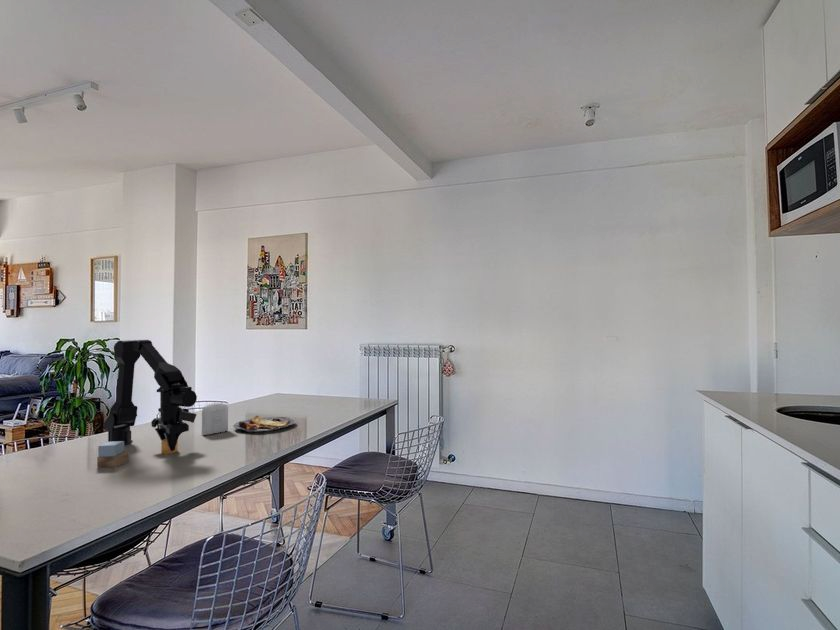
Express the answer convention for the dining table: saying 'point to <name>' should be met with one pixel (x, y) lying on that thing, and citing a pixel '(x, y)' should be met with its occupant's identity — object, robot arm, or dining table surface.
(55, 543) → the dining table surface
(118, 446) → the slate top block
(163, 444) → the orange cylinder
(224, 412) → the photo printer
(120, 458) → the walnut base block
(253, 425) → the food plate
